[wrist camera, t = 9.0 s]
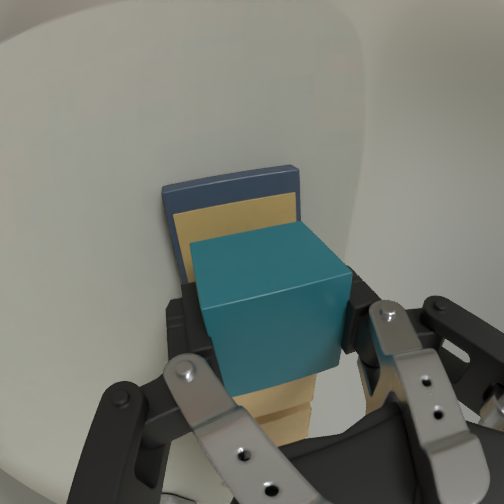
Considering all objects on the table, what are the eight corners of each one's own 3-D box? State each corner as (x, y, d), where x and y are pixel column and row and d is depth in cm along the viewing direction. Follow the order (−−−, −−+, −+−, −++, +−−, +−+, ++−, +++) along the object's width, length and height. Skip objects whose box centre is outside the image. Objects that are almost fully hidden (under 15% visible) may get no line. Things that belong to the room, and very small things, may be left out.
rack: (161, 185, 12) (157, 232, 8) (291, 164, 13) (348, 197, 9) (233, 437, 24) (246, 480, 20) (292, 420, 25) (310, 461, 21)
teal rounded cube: (188, 242, 11) (200, 309, 8) (301, 220, 12) (353, 271, 8) (209, 328, 13) (226, 399, 10) (301, 306, 14) (338, 365, 11)
